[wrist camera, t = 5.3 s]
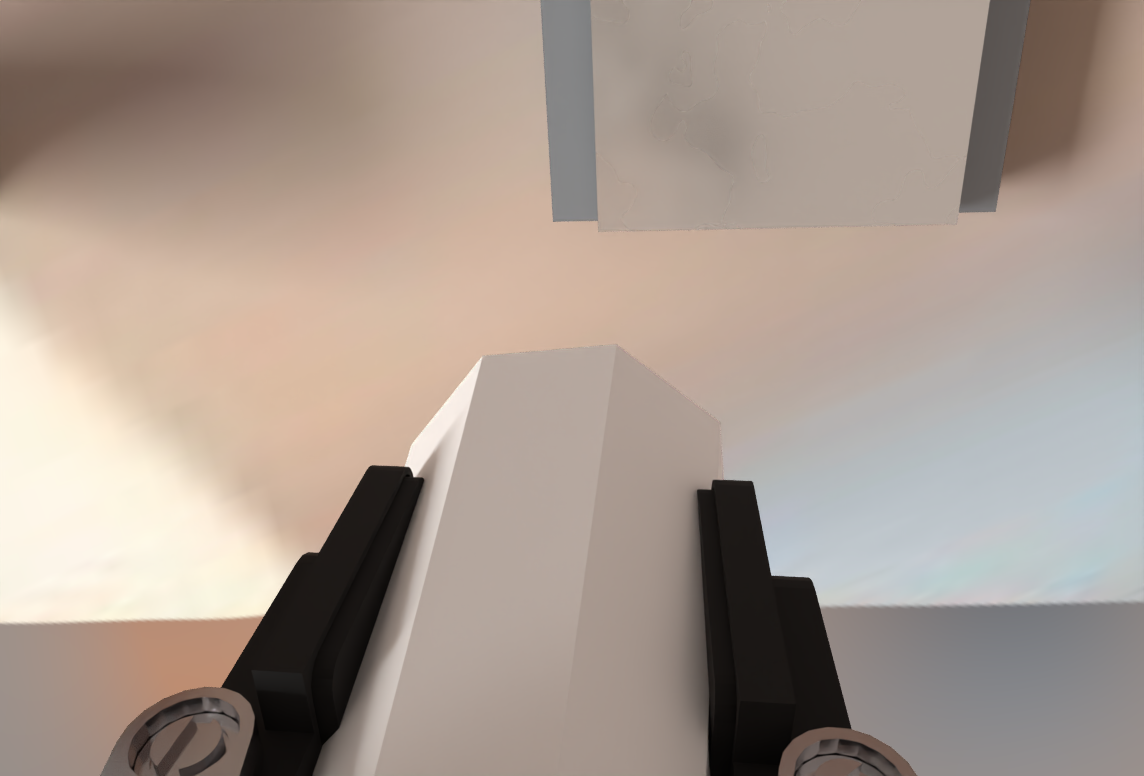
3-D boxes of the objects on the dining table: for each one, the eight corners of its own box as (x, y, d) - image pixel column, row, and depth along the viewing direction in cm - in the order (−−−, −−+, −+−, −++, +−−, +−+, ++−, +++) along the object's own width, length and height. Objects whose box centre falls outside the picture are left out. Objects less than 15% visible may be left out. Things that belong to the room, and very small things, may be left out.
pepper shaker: (789, 542, 14) (1103, 1848, 4) (518, 646, 16) (294, 1776, 6) (638, 272, 12) (582, 1503, 2) (348, 421, 14) (-404, 1529, 4)
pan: (587, -171, 21) (584, -177, 20) (1007, -202, 20) (1020, -210, 19) (599, 225, 25) (598, 231, 24) (948, 217, 24) (957, 224, 23)
